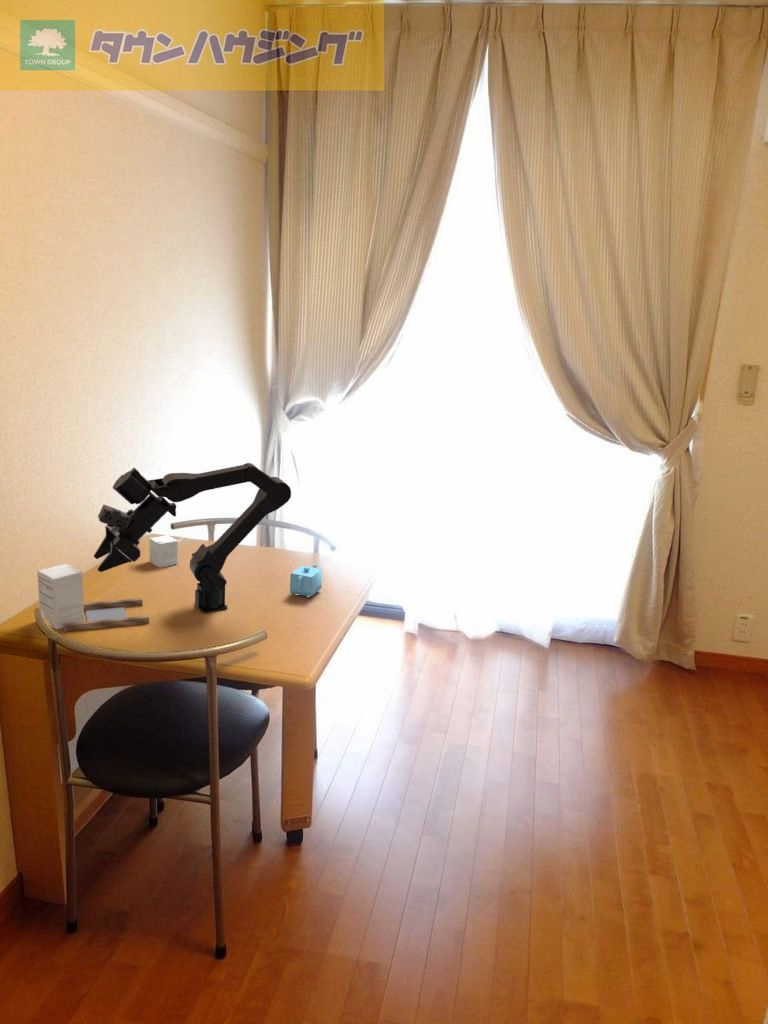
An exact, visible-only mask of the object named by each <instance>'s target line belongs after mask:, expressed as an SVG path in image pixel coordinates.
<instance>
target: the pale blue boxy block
mask: <svg viewBox="0 0 768 1024" xmlns="http://www.w3.org/2000/svg"><path fill="white" fill-rule="evenodd" d="M317 566H318V562H315V563H313V564H312V566H307V565H302V564H301V565H300V566H299V567H298V568H296V569H295V570H293V571H292V572H291V573H290V578H289V579H290V582H289V593H290V594H293V595H294V594H299V595H298V596H305V597H306V596H309V597H311V596H312V597H313V596H314V595H315V594H317V593H318V591H320V590H321V589H322V583H323V582H322V581H323V569H322V568H318V567H317ZM316 592H317V593H316Z"/></svg>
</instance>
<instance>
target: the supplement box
mask: <svg viewBox="0 0 768 1024" xmlns="http://www.w3.org/2000/svg"><path fill="white" fill-rule="evenodd" d="M36 572H37V573H36V574H37V586H38V587H37V589H38V591H37V592H38V606H39V608H41V609H42V611H43V613H44V616H45V618H46V619H47V621H48V622H49V623H50V624H51V625H52V626H53V627H54V628H55V629H54V628H53V629H54V630H56V631H57V630H60V629H63V624H65V623H75V622H85V613H84V612H85V611H84V607H83V603H84V588H83V587H84V585H83V583H84V581H83V571H81V570H79V569H78V568H75V567H74V566H71V565H69V564H67V563H63V564H59V565H55V566H52V567H51V566H50V567H48V568H43V569H39V570H37V571H36ZM39 608H38V609H39Z"/></svg>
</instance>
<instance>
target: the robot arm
mask: <svg viewBox="0 0 768 1024" xmlns="http://www.w3.org/2000/svg"><path fill="white" fill-rule="evenodd" d="M245 483H251V484H253V485H254V486H255V487H257V488H258V490H257V492H256V495H255V497H254V499H253V501H252V503H251V504H250V505H249V506H248V507H247V508H246V509H245V510H244V511H243V512H242V513H241V514H240V516H239V517H237V519H236V520H235V521H234V522H233V523H232V524H231V525H230V526H229V527H228V528H227V529H226V530H225V532H223V533H222V535H221V536H220V537H219V538H217V539H216V541H214V542H213V544H210V545H208V546H206V545H205V543H202V544H200V546H199V547H198V549H197V550H196V551H194V553H191V559H190V561H189V569H190V571H191V573H192V575H193V576H194V578H195V580H196V581H197V583H196V589H195V590H194V604H193V605H195V607H197V608H198V609H199V610H200V612H202V613H210V612H211V613H212V612H218V611H223V610H227V609H229V608H228V605H226V585H227V579H226V578H225V577H224V575H223V573H222V572H221V571H222V570H223V568H224V565H225V563H226V560H227V558H228V556H230V554H231V553H232V552H233V551H234V550H235V549H236V548H237V547H238V546H239V545H240V544H241V543H242V542H243V540H244V539H245V538H246V537H248V535H249V534H250V533H251V532H252V531H253V530H254V529H255V528H256V527H257V526H258V524H259V523H260V522H261V521H262V520H263V519H264V518H266V516H268V515H269V514H271V513H273V512H275V511H277V510H279V509H280V508H282V507H283V506H284V505H286V504H287V503H288V502H289V500H290V499H291V497H292V490H291V487H290V486H289V485H288V484H287V483H286V482H285V481H284V480H283V479H281V478H280V477H278V476H269V474H267V473H266V472H264V471H263V470H261V469H259V468H258V467H257V466H255V464H253V463H251V462H246V463H244V464H241V465H235V466H231V467H226V468H219V469H215V470H210V471H205V472H201V473H199V472H198V473H191V472H172V473H167V474H165V475H164V476H163V477H162V478H155V479H149V480H147V478H145V477H144V476H143V474H141V472H140V471H139V470H137V468H135V467H133V468H131V469H130V470H129V471H127V472H125V473H124V474H121V475H120V476H119V477H118V478H117V479H116V481H114V484H113V485H112V489H113V490H114V491H116V493H118V495H120V496H121V497H122V498H123V499H124V500H125V501H127V503H129V504H130V505H134V504H135V505H138V506H137V507H136V508H134V509H133V508H131V509H128V510H127V512H125V511H122V510H120V509H117V508H115V507H112V506H110V505H107V504H103V505H102V507H101V508H100V511H99V513H98V516H97V518H98V521H99V522H100V523H102V524H105V526H104V529H105V534H104V535H105V536H104V538H103V540H102V541H101V542H100V544H99V546H98V548H97V549H96V551H95V553H94V555H93V557H94V558H95V559H96V560H98V559H101V558H103V557H104V556H105V558H104V559H103V561H101V563H100V565H99V566H98V567H97V571H98V572H100V573H103V572H105V571H108V570H111V569H113V568H117V567H118V566H121V565H125V564H128V563H133V562H134V563H135V562H136V561H137V560H138V559H139V558H140V557H141V550H140V547H139V546H138V545H139V544H140V543H141V542H140V540H141V539H142V537H144V535H145V534H146V533H149V534H151V533H152V531H153V529H152V528H153V527H154V526H155V525H156V523H158V522H159V521H160V520H161V519H162V518H163V517H164V516H165V515H166V514H167V513H169V514H170V515H171V516H172V517H176V516H177V512H176V511H177V504H176V503H180V502H184V501H186V500H189V499H191V498H193V497H195V496H197V495H198V494H200V493H203V492H205V491H211V490H216V489H221V488H226V487H229V486H235V485H240V484H245ZM151 491H152V492H151ZM166 498H167V499H166ZM169 501H170V502H169Z"/></svg>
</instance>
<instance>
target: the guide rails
mask: <svg viewBox="0 0 768 1024" xmlns="http://www.w3.org/2000/svg"><path fill="white" fill-rule="evenodd" d="M143 600H144V599H143V598H142V597H138V598H137V597H136V598H127V599H115V600H105V601H94V602H93V601H92V602H83V607H84V612H85V615H86V621H85V620H84V621H83V622H75V623H65V624H63V628H62V630H63V633H66V632H74V631H75V632H76V630H77V631H84V630H85V631H86V630H95V629H96V628H97V629H105V627H106V628H115V627H114V626H116V627H124V626H126V627H127V626H133V625H135V624H136V625H145V624H150V616H149V615H141V616H140V615H137V616H129V617H128V615H127V612H126V609H125V608H128V607H130V608H131V607H138V606H139V605H141V606H143V605H144V603H143ZM103 627H104V628H103ZM97 629H96V630H97Z"/></svg>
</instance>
